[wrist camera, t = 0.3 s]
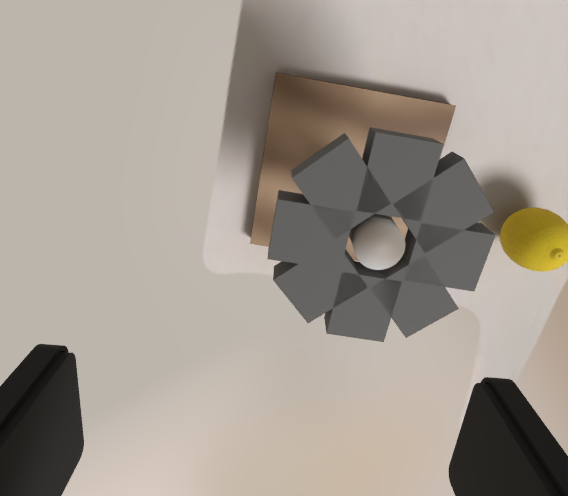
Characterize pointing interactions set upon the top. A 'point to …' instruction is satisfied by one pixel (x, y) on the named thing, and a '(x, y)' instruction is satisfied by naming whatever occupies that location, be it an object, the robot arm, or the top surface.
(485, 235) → the grey flat ring
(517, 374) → the top surface
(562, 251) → the lemon
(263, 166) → the pipe stand
